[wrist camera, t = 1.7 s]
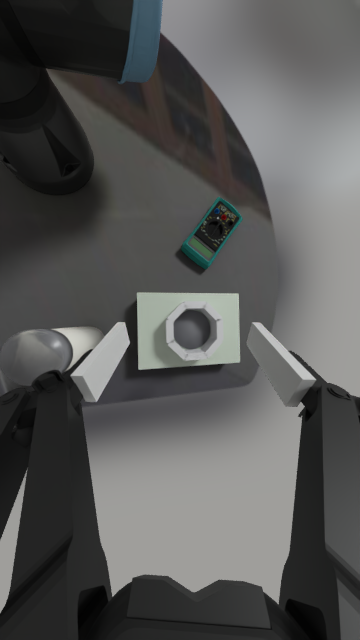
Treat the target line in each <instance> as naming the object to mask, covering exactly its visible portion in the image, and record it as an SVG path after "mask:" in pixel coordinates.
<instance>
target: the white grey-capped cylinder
mask: <svg viewBox="0 0 360 640" xmlns="http://www.w3.org/2000/svg"><path fill="white" fill-rule="evenodd" d="M104 337H105V336H104V334H103V333H102V331H101V330H99V329H98V328H96V327H92V326H85V327H72V328H59V329H35V330H26V331H22V332H19V333H17V334H15V335H13V336H12V337H11V338H9V339H8V340H7V341H6V342H5V344H4V345H3V347H2V349H1V352H0V367H1V369H2V371H3V373H4V374H5V375H6V376H7V377H8V378H9V379H10V380H11V381H13V382H15V383H17V384H20V385H25V386H31V384H32V382H33V381H34V380H35V379H36V378H37V377H38V376H40V375H41V374H43V373H45V372H47V371H51V370H59V371H60V372H61V374H62V373H63V372H65V371H67V370H68V369H70V368H71V367H72V366H73V365H74V364H75V363H76V362H77V361H78V360H79V359H80V357H81V356H82V355H83V354H84V353H86V352H87V351H89V350H90V349H94V348H95V347H96V346H97V345H98V344H99V343H100V342H101V341H102V339H103V338H104Z"/></svg>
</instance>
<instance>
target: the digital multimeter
mask: <svg viewBox="0 0 360 640" xmlns="http://www.w3.org/2000/svg"><path fill="white" fill-rule="evenodd" d="M242 220H243V219H242V217H241V215H240V214H239V213H238V211H237V210H236V209H235V208H234V207H233V206H232V205H231V204H230V203H228V202H227V201H225V200H223V199H222V198H220V197H218V198H217V199H216V200H215V202H214V203H213V205H212V206H211V208H210V209H209V211H208V212H207V214H206V215H205V216H204V218H203V219H202V221H201V222H200V223H199V224H198V226H197V227H196V228H195V230H194V231H193V232H192V233H191V234H190V236H189V237H188V238H187V239H186V240H185V242H184V243H183V245H182V248H181V250H182V251H183V252H184V253H185V254H186V255H187V256H188V257H189V258H190V259H191V260H193V261H194V262H195V263H196V264H198V265H199V266H201V267H202V268H204V269H207V268H208V267H209V266H210V265H211V263H212V262H213V260H214V259H215V257H216V256H217V254H218V252H219V251H220V249H221V248H222V247H223V245H224V244H225V242H226V241H227V239H228V238H229V237H230V235H231V234H232V233H233V231H234V230H235V229H236V228H237V226H238V225H239V224H240V223H241V221H242Z"/></svg>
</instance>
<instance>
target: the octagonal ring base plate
mask: <svg viewBox="0 0 360 640" xmlns="http://www.w3.org/2000/svg"><path fill="white" fill-rule="evenodd" d="M137 317H138V370H143V369H157V368H170V367H184V366H197V365H211V364H224V363H238V362H240V338H239V294H216V293H137Z"/></svg>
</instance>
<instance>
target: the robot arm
mask: <svg viewBox="0 0 360 640" xmlns="http://www.w3.org/2000/svg"><path fill="white" fill-rule="evenodd" d="M162 1H163V0H0V159H1V160H2V162H3V163H4V164H5V165H6V166H7V167H8V168H9V169H10V170H11V171H12V172H13V173H14V174H15V175H16V176H17V177H18V178H19V179H20V180H21V181H22V182H23V183H25V184H26V185H27V186H29V187H31V188H33V189H35V190H37V191H40V192H43V193H47V194H55V195H59V194H67V193H71V192H74V191H76V190H78V189H79V188H81V187H82V186H83V185H84V184H86V182H87V181H88V180H89V178H90V176H91V174H92V172H93V167H94V157H93V152H92V149H91V147H90V144H89V142H88V139H87V136H86V134H85V132H84V130H83V128H82V126H81V125H80V123H79V122H78V120H77V119H76V117H75V116H74V114H73V112H72V111H71V109H70V108H69V106H68V105H67V103H66V102H65V100H64V99H63V97H62V96H61V94H60V92H59V91H58V89H57V88H56V86H55V85H54V83H53V82H52V80H51V79H50V77H49V75H48V73H47V71H46V68H48V69H55V70H61V71H67V72H73V73H79V74H86V75H92V76H98V77H104V78H110V79H116V80H117V82H118V83H119V84H123V83H124V82H125V81H129V82H141V83H143V82H146V81H148V80H149V78H150V77H151V75H152V73H153V71H154V69H155V65H156V60H157V54H158V47H159V38H160V28H161V16H162ZM129 344H130V341H129V337H128V333H127V329H126V325H125V322H117V324H116V325H115V326H114V327H113V328H112V329H111V330H110V331H109V333H108V334H107V335H106V336H105V337H104V338H103V339H102V341H101V342H100V343H99V344H98V345H97V346H96V347H95V348H94V349H90V350H89V351H87V352H86V353H84V354H83V355H82V356H81V357H80V359H79V360H78V361H77V362H76V363H75V364H74V365H73V366H72V367H71V368H70V369H69V370H68V371H67V372H66V373H65V374H64V375H62V374H61V372H60V371H59V370H51V371H47V372H45V373H43V374H41V375H40V376H38V377H37V378H36V379H35V380H34V381H33V382H32V384H31V386H32V387H33V388H34V389H35V390H36V391H32V392H27V391H26V390H25V388H18V389H14V390H12V391H9V392H7V393H6V394H4V395H3V396H1V397H0V539H1V537H2V534H3V531H4V529H5V526H6V524H7V521H8V518H9V516H10V513H11V510H12V507H13V505H14V502H15V500H16V497H17V494H18V491H19V489H20V486H21V483H22V481H23V478H24V476H25V473H26V470H27V468H28V471H27V477H26V484H25V491H24V497H23V505H22V511H21V518H20V525H19V532H18V539H17V546H16V552H15V559H14V566H13V573H12V580H11V587H10V592H9V596H8V599H7V602H6V604H5V607H4V608H3V610H2V611H1V613H0V640H360V398H359V397H356V396H352V395H350V394H349V393H348V392H347V391H345V390H344V389H342V388H340V387H339V386H337V385H334V384H331V383H327V382H326V381H325V380H324V379H323V378H322V377H321V376H319V375H318V374H317V373H316V372H315V371H314V370H313V369H312V368H311V367H310V366H308V364H307V363H306V362H304V360H303V359H302V358H301V357H300V356H298V355H297V354H295V353H294V352H292V351H287V350H286V349H285V347H283V345H282V344H280V342H279V341H277V339H276V338H274V336H273V335H272V334H271V333H270V332H269V331H268V330H267V329H266V328H265V327H264V326H263V325H262V324H261V323H252V325H251V329H250V332H249V336H248V339H247V343H246V345H247V346H248V348H249V349H250V351H251V353H252V354H253V356H254V357H255V359H256V360H257V362H258V364H259V365H260V367H261V368H262V370H263V371H264V373H265V375H266V376H267V378H268V379H269V381H270V383H271V384H272V386H273V387H274V389H275V391H276V392H277V394H278V395H279V397H280V399H281V400H282V402H283V403H284V405H285V406H290V407H291V406H292V407H297V406H298V405H299V403H300V402H302V403H303V405H304V406H305V407H304V409H303V410H302V411H301V412H300V414H299V417H301V416H302V426H301V436H300V447H299V458H298V469H297V479H296V490H295V501H294V511H293V522H292V533H291V544H290V552H289V556H288V559H287V561H286V563H285V565H284V570H283V574H282V580H281V588H280V597H279V605H278V604H277V603H276V602H275V601H274V600H273V599H272V598H270V597H269V596H268V595H267V594H265V593H264V592H263V590H262V587H261V586H257V585H254V584H250V583H247V582H243V581H229V580H218V581H216V582H214V583H212V584H210V585H208V586H207V587H205V588H203V589H201V590H199V591H197V592H195V593H194V592H191V591H190V590H188V589H186V588H185V587H184V586H182V585H181V584H179V583H178V582H176V581H175V580H173V579H172V578H170V577H168V576H157V575H142V576H138V577H134V578H133V579H132V582H130V583H128V584H127V585H126V586H124V587H123V588H122V589H121V590H119V591H118V592H117V593H116V594H115V595H114V596H113V597H112V593H111V586H110V579H109V572H108V566H107V561H106V557H105V554H104V551H103V548H102V546H101V543H100V538H99V530H98V523H97V516H96V509H95V502H94V494H93V487H92V480H91V473H90V466H89V458H88V451H87V444H86V436H85V429H84V422H83V414H82V407H81V403H80V401H81V399H82V398H83V397H84V399H85V401H86V402H97V400H98V399H99V397H100V395H101V393H102V392H103V390H104V388H105V386H106V384H107V383H108V381H109V379H110V377H111V376H112V374H113V372H114V370H115V369H116V367H117V365H118V363H119V362H120V360H121V358H122V356H123V355H124V353H125V351H126V349H127V348H128V346H129Z"/></svg>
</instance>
